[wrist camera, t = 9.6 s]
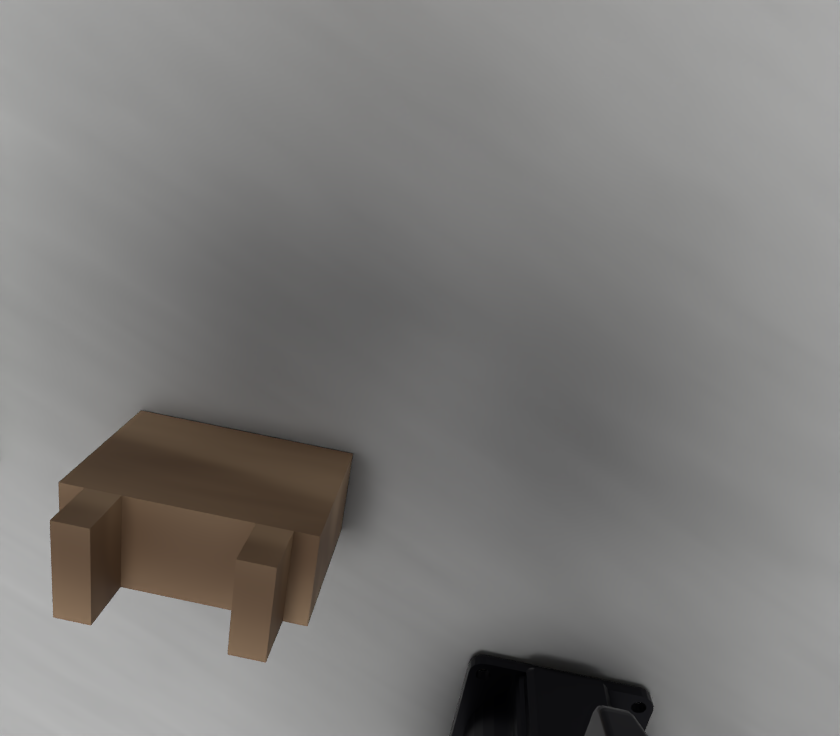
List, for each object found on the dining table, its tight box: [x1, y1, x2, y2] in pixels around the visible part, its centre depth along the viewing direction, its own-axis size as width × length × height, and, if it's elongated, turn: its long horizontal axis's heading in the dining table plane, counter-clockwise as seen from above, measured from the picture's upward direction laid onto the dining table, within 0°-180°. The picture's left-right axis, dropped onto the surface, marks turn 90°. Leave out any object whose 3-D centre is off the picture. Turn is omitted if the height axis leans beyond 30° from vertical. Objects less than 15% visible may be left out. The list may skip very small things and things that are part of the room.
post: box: [50, 411, 353, 662], centre depth 20 cm, size 3×7×6 cm, turn 80°
